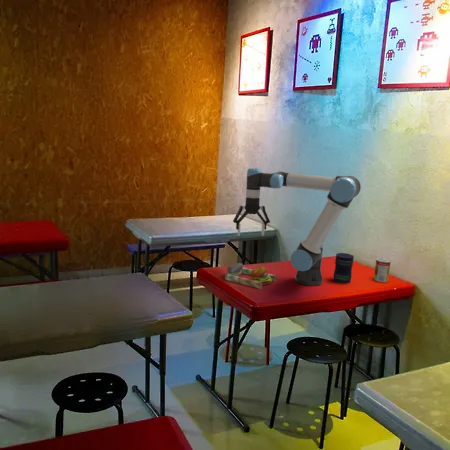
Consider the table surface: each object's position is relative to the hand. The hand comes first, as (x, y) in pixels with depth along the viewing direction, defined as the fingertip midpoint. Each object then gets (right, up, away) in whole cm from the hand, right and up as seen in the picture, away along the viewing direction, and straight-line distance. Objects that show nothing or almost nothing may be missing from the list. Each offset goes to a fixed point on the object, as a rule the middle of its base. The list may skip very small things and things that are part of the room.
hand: (250, 235), depth 272 cm
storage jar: (+52, -26, +9) cm, 59 cm away
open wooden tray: (0, -24, -1) cm, 24 cm away
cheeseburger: (+5, -26, -4) cm, 27 cm away
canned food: (+76, -26, +15) cm, 82 cm away
